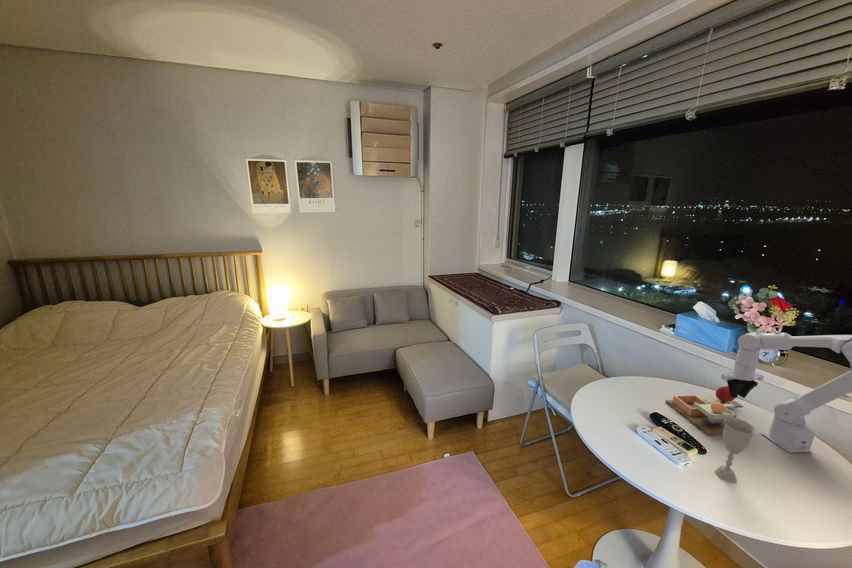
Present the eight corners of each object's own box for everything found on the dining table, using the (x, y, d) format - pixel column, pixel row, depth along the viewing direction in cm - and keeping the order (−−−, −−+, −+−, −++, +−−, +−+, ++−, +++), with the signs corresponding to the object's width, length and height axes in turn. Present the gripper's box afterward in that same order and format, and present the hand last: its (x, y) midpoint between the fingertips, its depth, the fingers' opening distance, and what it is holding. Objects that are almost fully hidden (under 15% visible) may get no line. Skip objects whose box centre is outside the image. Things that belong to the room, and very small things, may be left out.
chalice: (743, 489, 96) (758, 436, 92) (713, 479, 99) (726, 427, 95) (737, 472, 102) (751, 422, 98) (709, 463, 106) (721, 414, 101)
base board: (752, 433, 119) (755, 421, 118) (706, 434, 119) (709, 422, 117) (704, 401, 139) (707, 390, 137) (665, 402, 138) (667, 391, 137)
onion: (718, 405, 136) (722, 387, 134) (711, 397, 141) (715, 380, 139) (735, 407, 134) (740, 390, 132) (727, 399, 140) (731, 383, 138)
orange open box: (712, 415, 128) (714, 408, 127) (690, 416, 127) (691, 408, 127) (693, 402, 136) (695, 395, 136) (672, 402, 136) (673, 395, 135)
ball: (726, 415, 119) (729, 405, 118) (716, 415, 119) (718, 406, 118) (717, 408, 123) (719, 399, 122) (706, 409, 123) (708, 399, 122)
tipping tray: (759, 422, 119) (761, 414, 118) (710, 423, 119) (712, 415, 118) (734, 406, 129) (735, 398, 128) (689, 407, 128) (690, 399, 127)
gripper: (753, 358, 127) (745, 390, 130) (717, 359, 126) (709, 390, 129) (773, 367, 120) (763, 400, 123) (734, 368, 119) (726, 401, 122)
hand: (737, 396), depth 126 cm, fingers open, 3 cm apart
